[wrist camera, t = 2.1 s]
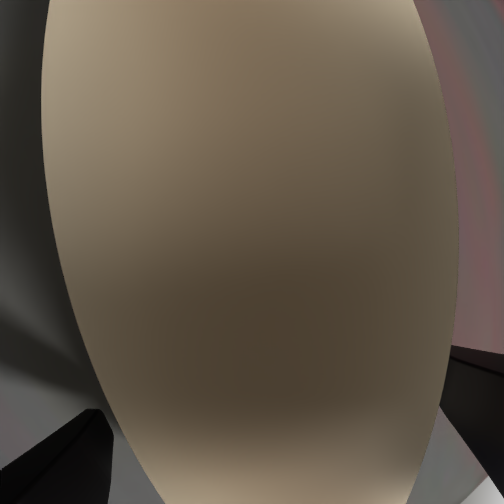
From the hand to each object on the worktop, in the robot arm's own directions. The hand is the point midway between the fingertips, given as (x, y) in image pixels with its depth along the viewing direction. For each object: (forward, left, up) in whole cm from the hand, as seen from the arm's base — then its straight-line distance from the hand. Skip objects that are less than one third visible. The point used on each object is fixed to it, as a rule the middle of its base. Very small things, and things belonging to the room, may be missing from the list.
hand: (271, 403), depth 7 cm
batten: (0, -9, -1) cm, 9 cm away
